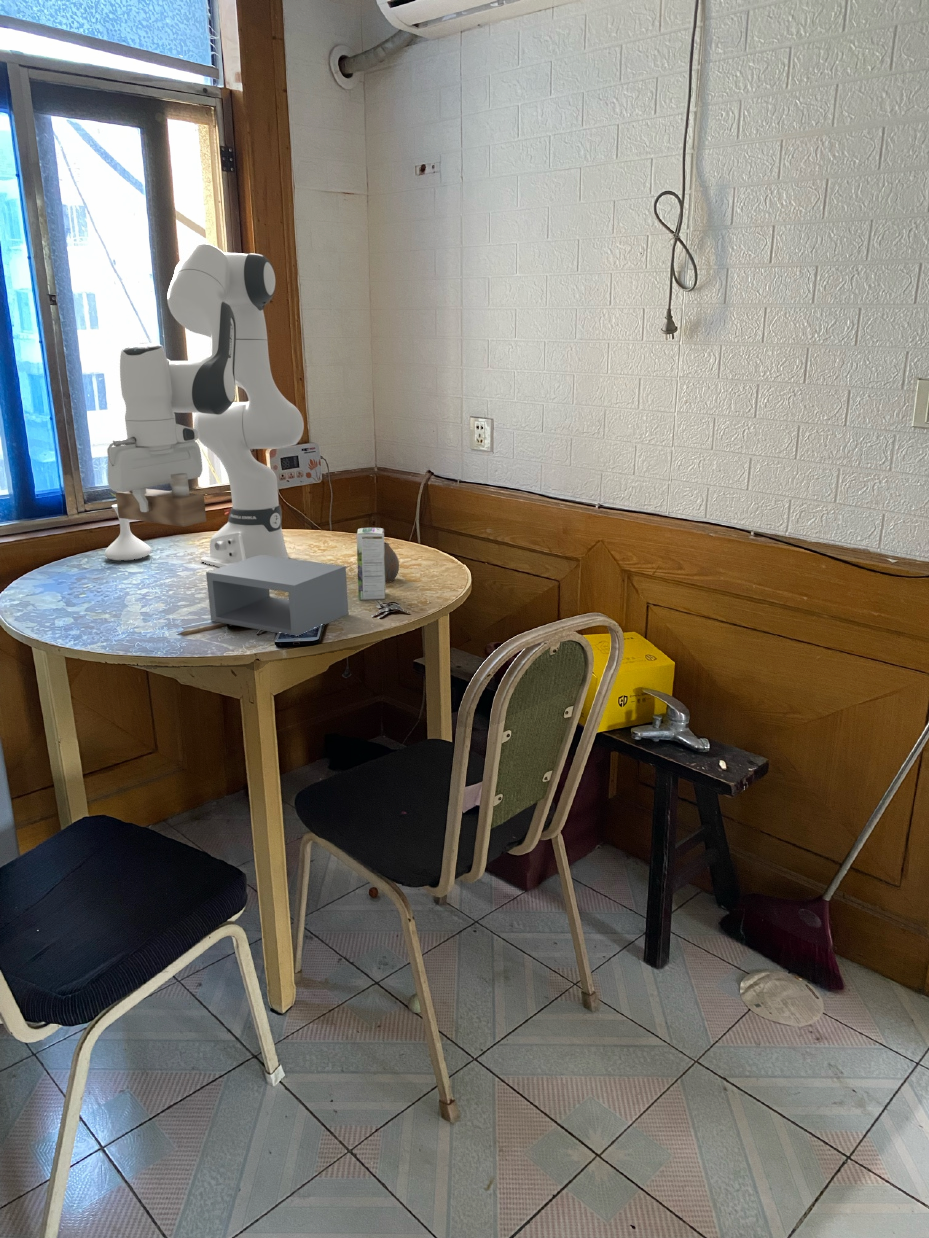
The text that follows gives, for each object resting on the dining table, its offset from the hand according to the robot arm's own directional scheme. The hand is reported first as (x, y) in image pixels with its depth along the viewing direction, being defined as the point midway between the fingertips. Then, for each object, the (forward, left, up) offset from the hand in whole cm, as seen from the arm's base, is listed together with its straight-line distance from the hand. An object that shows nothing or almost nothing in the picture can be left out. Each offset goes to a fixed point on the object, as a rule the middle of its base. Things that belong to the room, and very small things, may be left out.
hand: (160, 508), depth 174 cm
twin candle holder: (0, 0, -2) cm, 2 cm away
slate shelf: (+17, +12, -23) cm, 31 cm away
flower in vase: (-50, +34, -23) cm, 65 cm away
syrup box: (+25, +33, -23) cm, 48 cm away
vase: (+20, +45, -23) cm, 55 cm away
